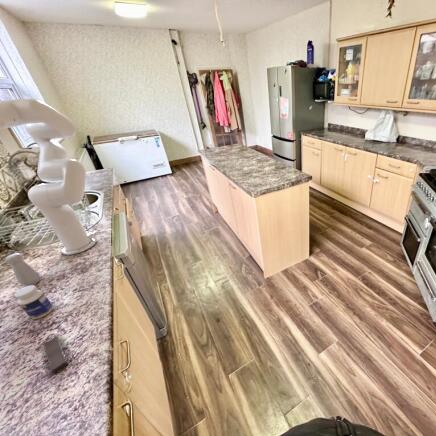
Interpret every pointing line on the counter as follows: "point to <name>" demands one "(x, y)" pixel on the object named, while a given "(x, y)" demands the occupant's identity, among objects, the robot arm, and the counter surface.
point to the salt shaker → (22, 270)
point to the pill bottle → (33, 302)
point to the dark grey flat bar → (55, 354)
